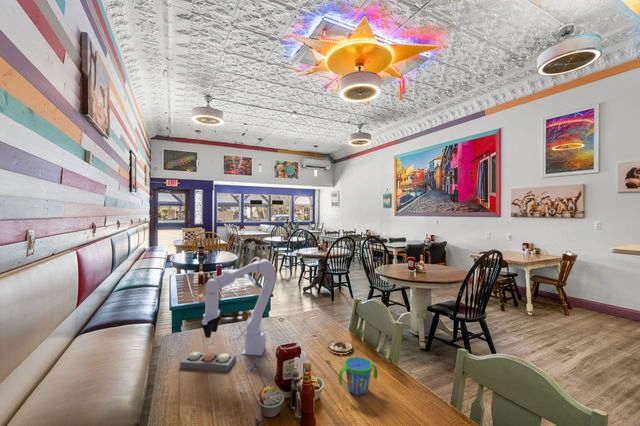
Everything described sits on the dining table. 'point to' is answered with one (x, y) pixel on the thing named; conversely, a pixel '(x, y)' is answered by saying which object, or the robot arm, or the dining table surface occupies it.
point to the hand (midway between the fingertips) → (211, 334)
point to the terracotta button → (209, 357)
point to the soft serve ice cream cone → (300, 361)
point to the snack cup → (357, 374)
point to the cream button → (223, 358)
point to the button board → (208, 363)
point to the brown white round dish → (340, 346)
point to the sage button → (194, 356)
